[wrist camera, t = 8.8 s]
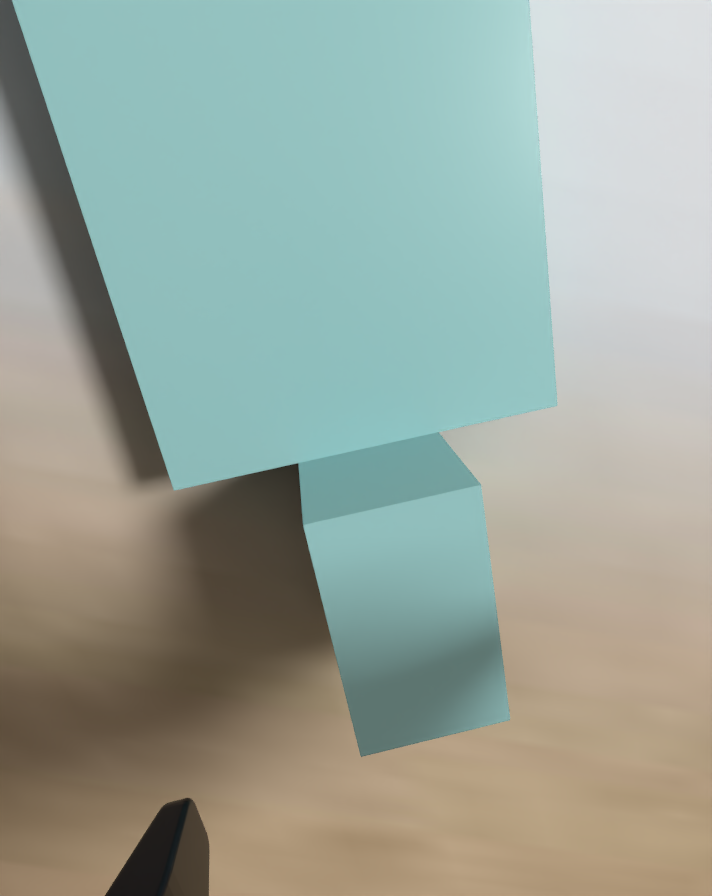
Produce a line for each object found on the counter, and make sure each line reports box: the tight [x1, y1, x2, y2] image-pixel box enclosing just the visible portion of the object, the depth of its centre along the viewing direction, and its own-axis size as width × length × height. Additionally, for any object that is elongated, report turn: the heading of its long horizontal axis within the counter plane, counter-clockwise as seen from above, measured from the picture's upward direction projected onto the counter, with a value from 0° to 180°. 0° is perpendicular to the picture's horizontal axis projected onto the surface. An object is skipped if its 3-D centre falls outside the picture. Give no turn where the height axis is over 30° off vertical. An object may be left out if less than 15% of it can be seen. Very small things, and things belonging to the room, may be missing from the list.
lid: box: [12, 0, 557, 757], centre depth 12 cm, size 10×21×5 cm, turn 11°
